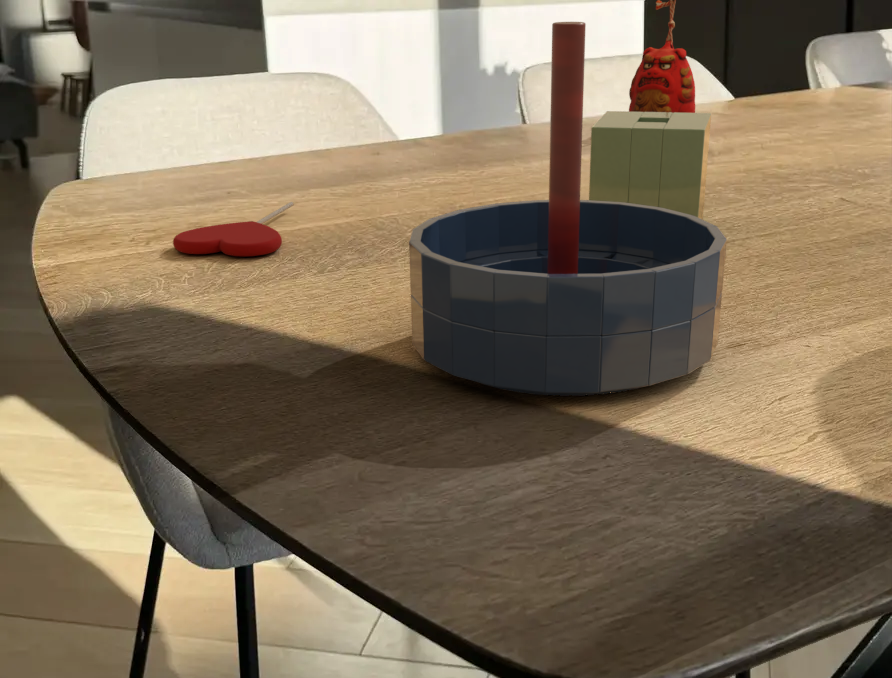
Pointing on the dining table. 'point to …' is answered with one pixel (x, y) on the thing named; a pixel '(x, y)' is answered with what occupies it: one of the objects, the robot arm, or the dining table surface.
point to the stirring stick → (565, 146)
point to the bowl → (566, 297)
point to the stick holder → (651, 159)
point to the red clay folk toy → (663, 77)
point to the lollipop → (232, 238)
